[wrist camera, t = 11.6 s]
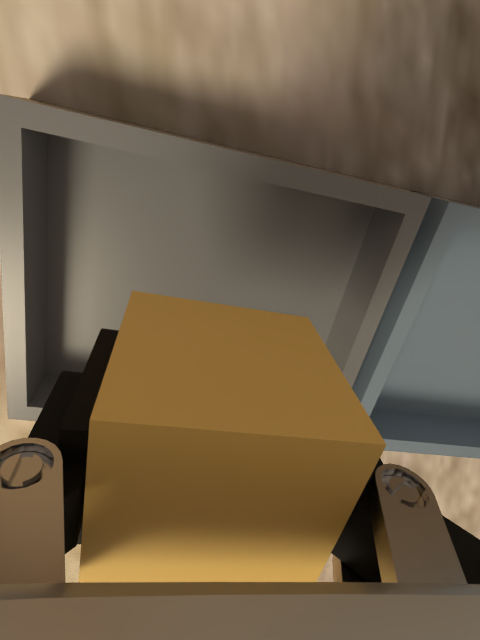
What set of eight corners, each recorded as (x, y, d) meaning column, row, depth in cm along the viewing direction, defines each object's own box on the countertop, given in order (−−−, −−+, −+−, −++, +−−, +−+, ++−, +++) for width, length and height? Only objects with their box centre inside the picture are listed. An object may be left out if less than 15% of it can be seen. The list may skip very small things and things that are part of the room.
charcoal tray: (311, 408, 23) (327, 445, 20) (32, 379, 20) (7, 418, 17) (395, 186, 18) (431, 197, 15) (28, 98, 14) (-8, 92, 12)
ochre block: (265, 444, 13) (304, 604, 9) (116, 432, 12) (77, 607, 8) (308, 317, 11) (385, 444, 7) (132, 290, 10) (89, 419, 6)
